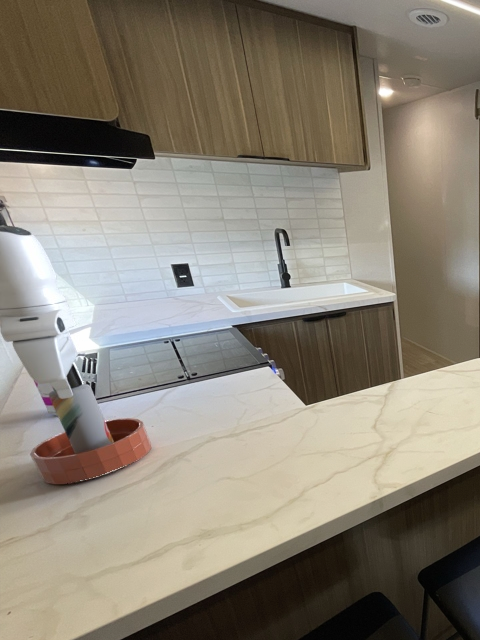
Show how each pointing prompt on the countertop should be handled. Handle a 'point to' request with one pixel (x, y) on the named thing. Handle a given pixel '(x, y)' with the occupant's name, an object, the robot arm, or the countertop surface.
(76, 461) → the bowl
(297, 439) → the countertop surface
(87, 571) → the countertop surface
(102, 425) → the lotion bottle
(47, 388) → the supplement can
